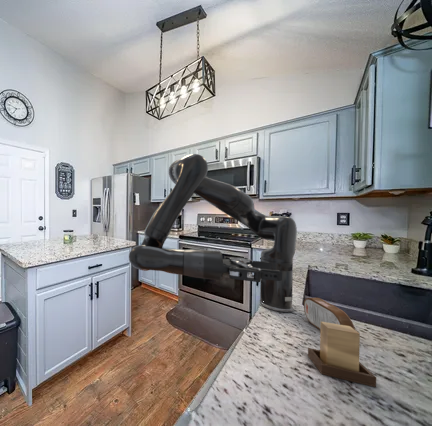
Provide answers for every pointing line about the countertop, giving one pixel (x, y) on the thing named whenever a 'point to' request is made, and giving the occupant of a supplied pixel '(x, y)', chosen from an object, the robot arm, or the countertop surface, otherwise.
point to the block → (339, 346)
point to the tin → (324, 313)
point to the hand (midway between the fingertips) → (275, 270)
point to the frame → (342, 370)
